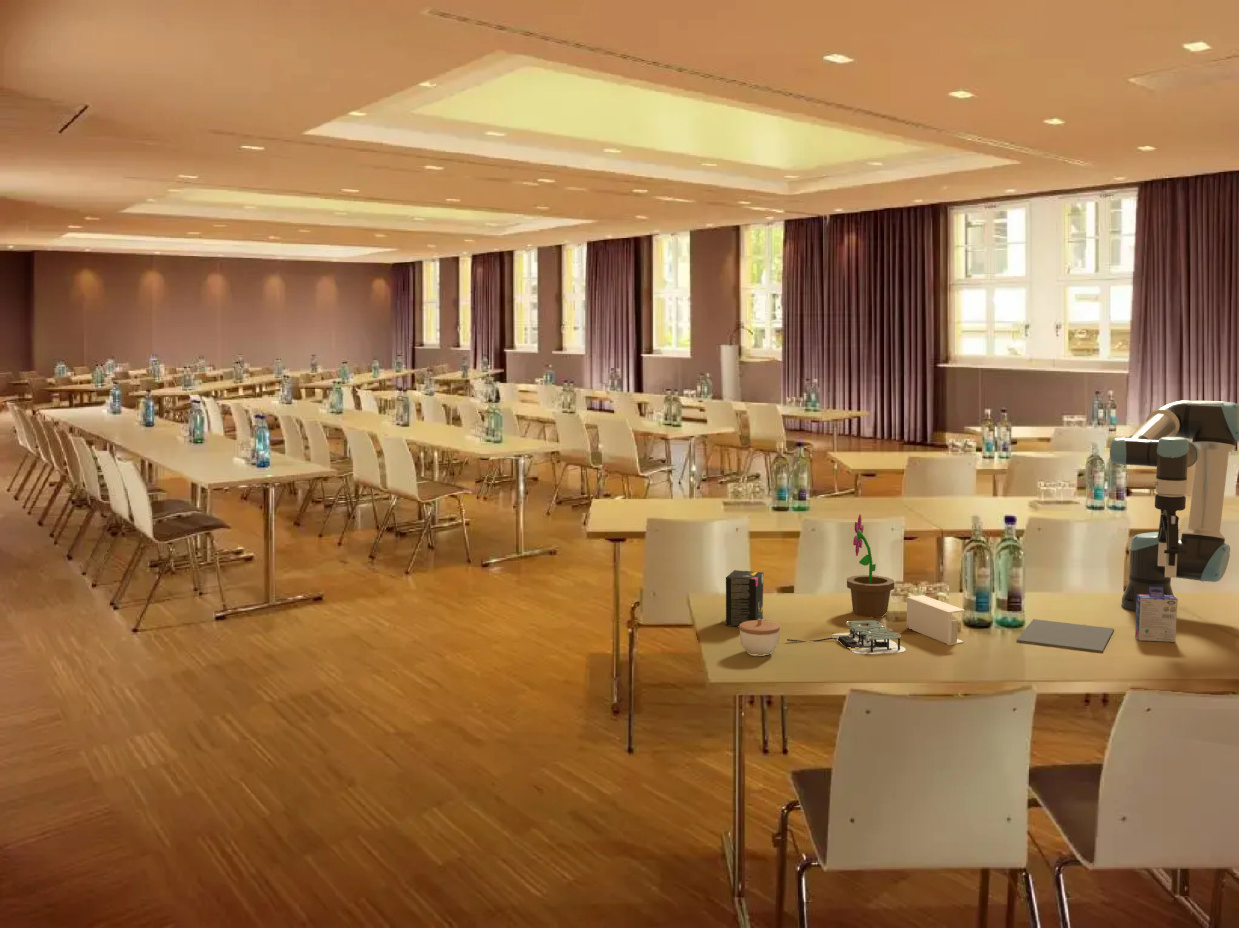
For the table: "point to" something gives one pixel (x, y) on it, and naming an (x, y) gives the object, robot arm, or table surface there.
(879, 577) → the flowerpot
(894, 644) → the neon sign
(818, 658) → the table surface
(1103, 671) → the table surface
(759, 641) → the lidded jar
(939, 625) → the cigarette display
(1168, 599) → the ink cartridge box
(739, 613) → the tampon box
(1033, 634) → the mat
